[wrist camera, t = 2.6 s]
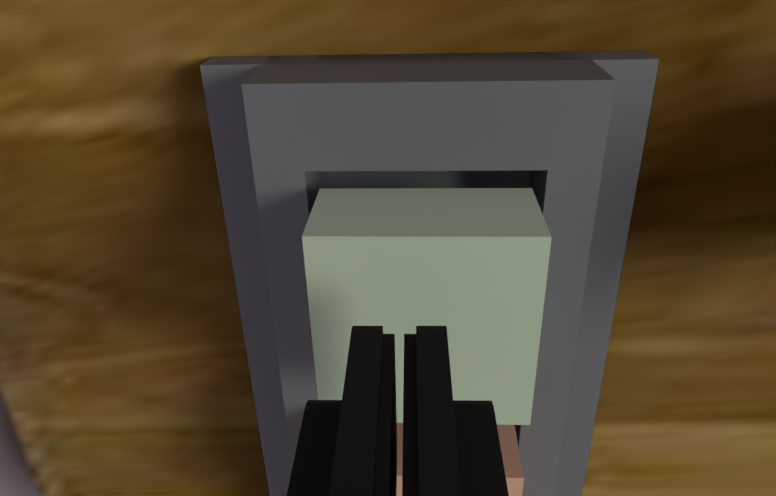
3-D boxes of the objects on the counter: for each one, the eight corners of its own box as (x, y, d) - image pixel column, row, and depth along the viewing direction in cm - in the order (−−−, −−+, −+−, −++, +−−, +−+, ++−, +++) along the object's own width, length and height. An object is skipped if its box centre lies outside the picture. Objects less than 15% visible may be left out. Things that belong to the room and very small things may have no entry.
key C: (516, 358, 16) (530, 425, 14) (333, 356, 16) (320, 421, 14) (531, 187, 14) (551, 236, 12) (319, 188, 14) (301, 236, 12)
